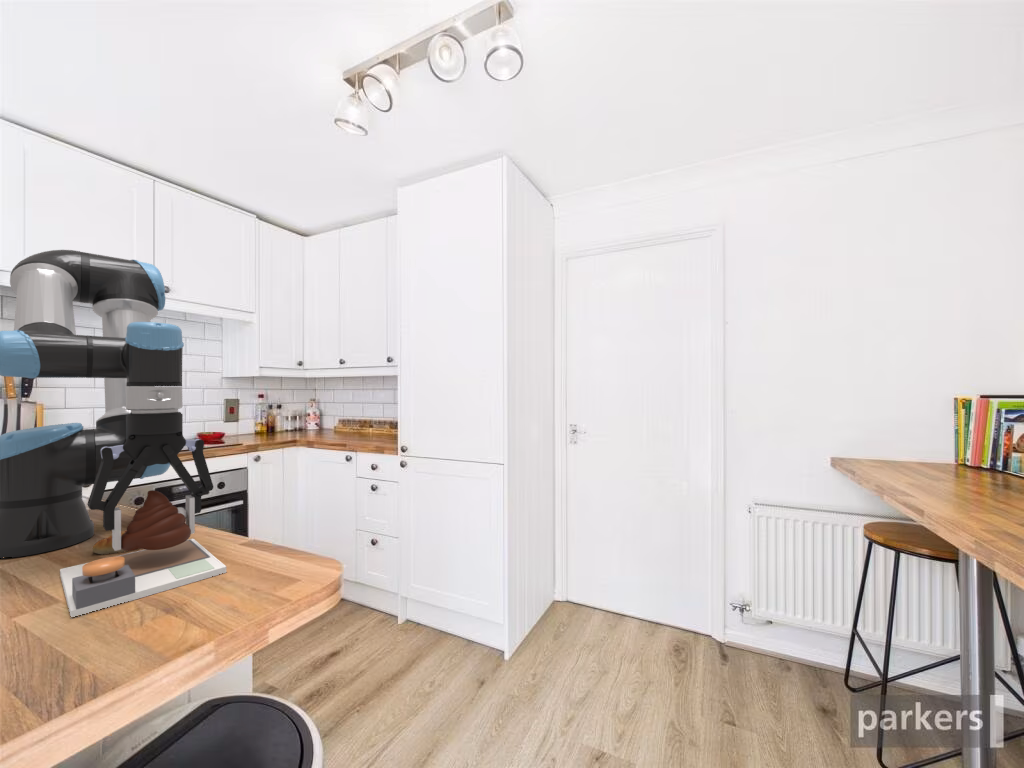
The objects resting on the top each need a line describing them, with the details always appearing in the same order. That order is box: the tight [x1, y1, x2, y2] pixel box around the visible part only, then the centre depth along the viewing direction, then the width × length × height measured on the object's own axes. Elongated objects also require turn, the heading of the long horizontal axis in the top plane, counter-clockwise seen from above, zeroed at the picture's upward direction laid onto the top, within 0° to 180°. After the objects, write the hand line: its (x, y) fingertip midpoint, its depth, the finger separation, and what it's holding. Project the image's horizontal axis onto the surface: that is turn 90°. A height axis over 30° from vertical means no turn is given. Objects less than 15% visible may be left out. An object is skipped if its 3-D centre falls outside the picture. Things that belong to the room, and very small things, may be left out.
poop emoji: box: [121, 489, 192, 552], centre depth 73 cm, size 10×8×9 cm
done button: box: [82, 555, 125, 583], centre depth 61 cm, size 4×4×3 cm
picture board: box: [59, 538, 227, 618], centre depth 70 cm, size 20×18×4 cm
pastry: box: [92, 529, 142, 555], centre depth 81 cm, size 9×7×4 cm
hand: (155, 539), depth 73 cm, fingers closed on poop emoji, 9 cm apart
